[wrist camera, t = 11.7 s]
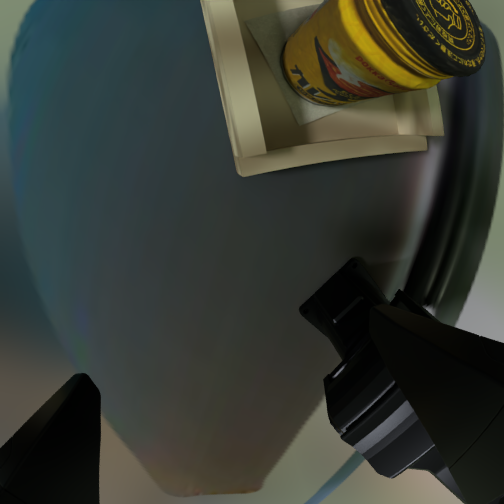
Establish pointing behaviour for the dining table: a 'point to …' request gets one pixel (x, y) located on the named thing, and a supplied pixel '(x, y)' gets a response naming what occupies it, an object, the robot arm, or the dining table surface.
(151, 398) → the dining table surface
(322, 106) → the condiment
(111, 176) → the dining table surface
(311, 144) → the tan square tray
